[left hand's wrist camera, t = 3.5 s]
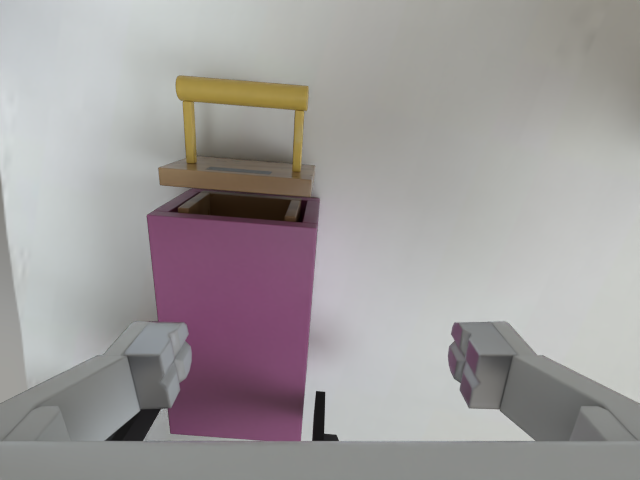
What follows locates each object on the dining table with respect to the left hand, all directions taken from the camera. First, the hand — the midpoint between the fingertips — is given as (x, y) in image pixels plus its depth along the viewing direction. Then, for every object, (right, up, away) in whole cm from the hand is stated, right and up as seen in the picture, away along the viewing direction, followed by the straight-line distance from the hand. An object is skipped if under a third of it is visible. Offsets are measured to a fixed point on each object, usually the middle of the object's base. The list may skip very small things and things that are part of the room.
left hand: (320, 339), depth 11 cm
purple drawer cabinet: (-6, -2, +24) cm, 25 cm away
